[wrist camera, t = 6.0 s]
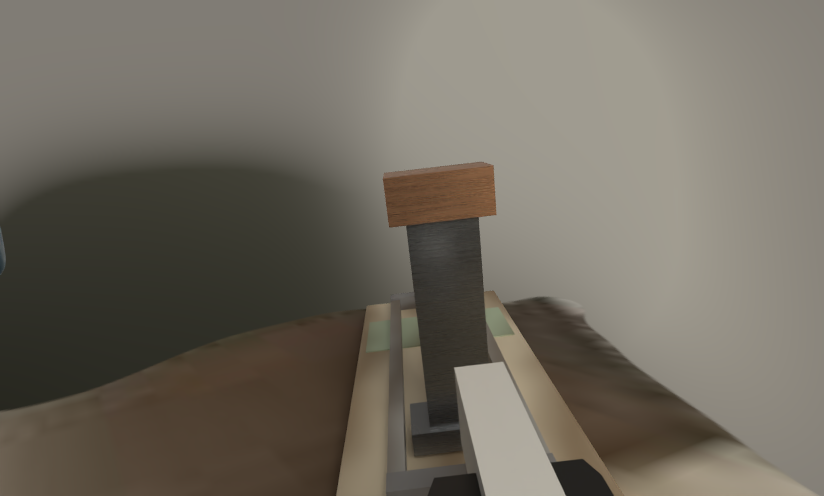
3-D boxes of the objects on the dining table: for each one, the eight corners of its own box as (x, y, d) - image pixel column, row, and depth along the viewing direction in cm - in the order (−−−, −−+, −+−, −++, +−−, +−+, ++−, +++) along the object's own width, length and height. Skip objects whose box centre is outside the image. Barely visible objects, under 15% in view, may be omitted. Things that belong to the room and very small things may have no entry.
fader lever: (414, 456, 20) (377, 178, 17) (412, 423, 22) (379, 173, 19) (514, 444, 20) (498, 164, 17) (501, 412, 22) (485, 161, 19)
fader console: (336, 583, 17) (322, 521, 16) (369, 325, 40) (365, 293, 39) (630, 546, 17) (632, 483, 16) (494, 310, 40) (492, 278, 39)
